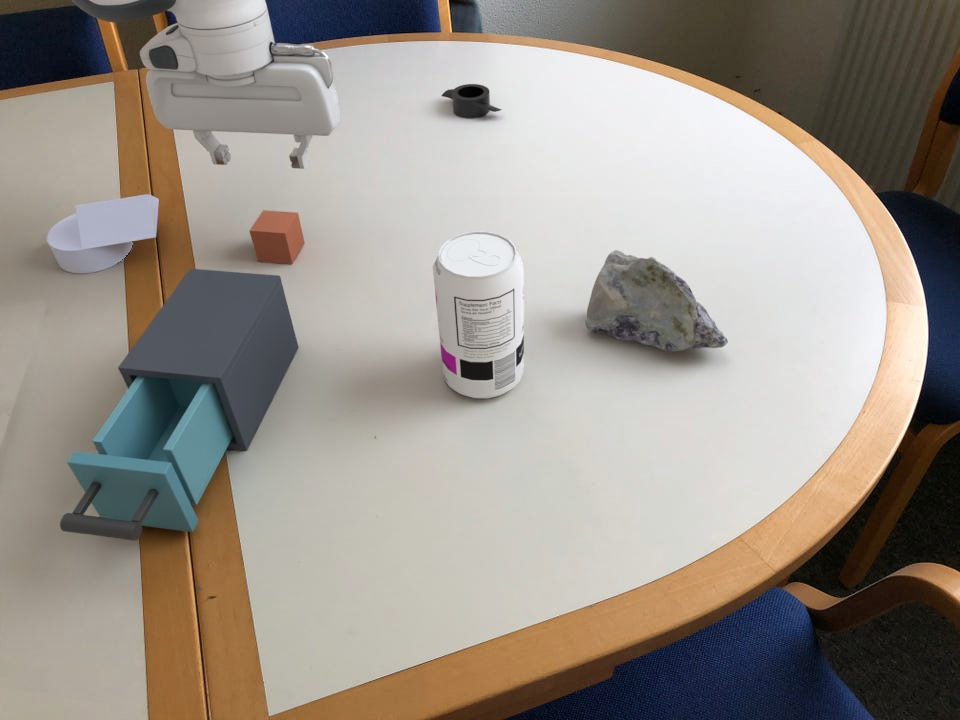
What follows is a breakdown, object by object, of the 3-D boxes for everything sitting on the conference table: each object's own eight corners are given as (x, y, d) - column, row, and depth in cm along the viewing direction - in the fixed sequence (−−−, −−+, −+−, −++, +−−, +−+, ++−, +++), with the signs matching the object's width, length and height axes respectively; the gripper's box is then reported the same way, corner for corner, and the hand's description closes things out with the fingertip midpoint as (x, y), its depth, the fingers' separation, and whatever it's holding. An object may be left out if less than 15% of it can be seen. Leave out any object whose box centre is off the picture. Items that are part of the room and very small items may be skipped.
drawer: (168, 579, 63) (136, 521, 58) (73, 565, 65) (33, 508, 59) (253, 416, 76) (233, 356, 71) (172, 407, 78) (146, 348, 72)
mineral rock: (729, 359, 81) (748, 280, 74) (643, 396, 78) (655, 317, 71) (653, 291, 90) (663, 215, 83) (572, 322, 86) (576, 245, 79)
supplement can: (427, 383, 80) (413, 262, 70) (473, 337, 85) (465, 218, 75) (494, 414, 77) (490, 292, 66) (538, 364, 81) (540, 243, 71)
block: (292, 264, 96) (285, 233, 93) (257, 261, 97) (249, 230, 94) (304, 243, 99) (297, 212, 96) (270, 240, 100) (262, 210, 97)
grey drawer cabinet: (247, 451, 74) (220, 377, 68) (152, 440, 76) (117, 367, 69) (299, 347, 85) (280, 275, 78) (215, 339, 86) (189, 268, 80)
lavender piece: (166, 221, 104) (62, 238, 102) (150, 175, 99) (41, 192, 97) (164, 260, 98) (53, 279, 95) (147, 213, 93) (29, 232, 91)
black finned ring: (486, 93, 129) (485, 75, 127) (504, 119, 122) (504, 101, 120) (440, 100, 127) (438, 82, 125) (455, 127, 120) (454, 109, 118)
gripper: (337, 32, 81) (357, 154, 91) (152, 28, 84) (190, 146, 94) (317, 57, 77) (341, 183, 86) (123, 52, 80) (167, 174, 89)
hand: (261, 164), depth 90 cm, fingers open, 8 cm apart
